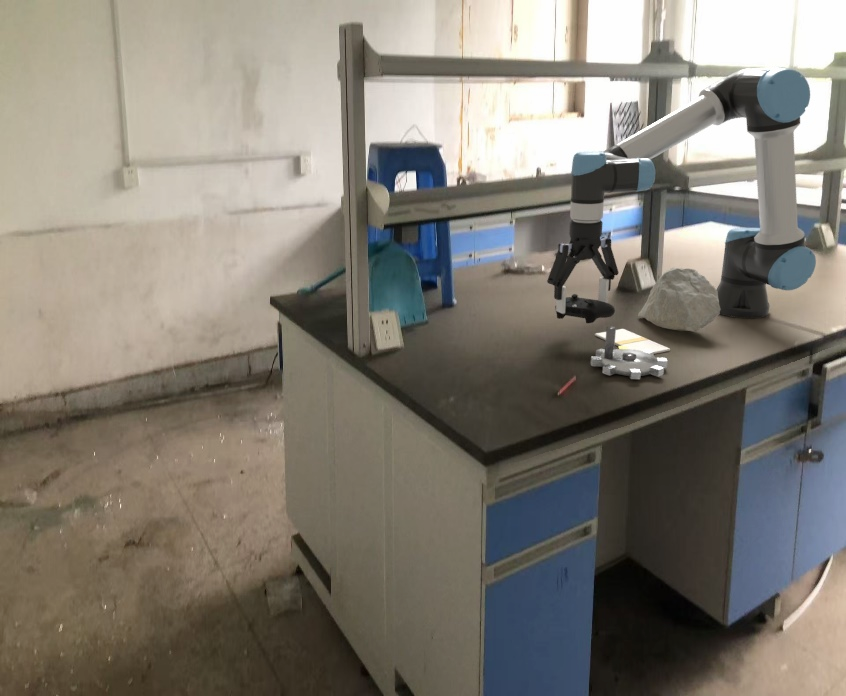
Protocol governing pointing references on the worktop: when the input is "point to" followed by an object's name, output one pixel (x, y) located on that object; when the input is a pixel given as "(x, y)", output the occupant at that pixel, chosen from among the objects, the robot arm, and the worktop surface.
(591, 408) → the worktop surface
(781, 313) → the worktop surface
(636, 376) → the sprocket
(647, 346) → the marked pad
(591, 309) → the gaming controller
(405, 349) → the worktop surface
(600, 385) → the worktop surface
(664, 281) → the grey rock
